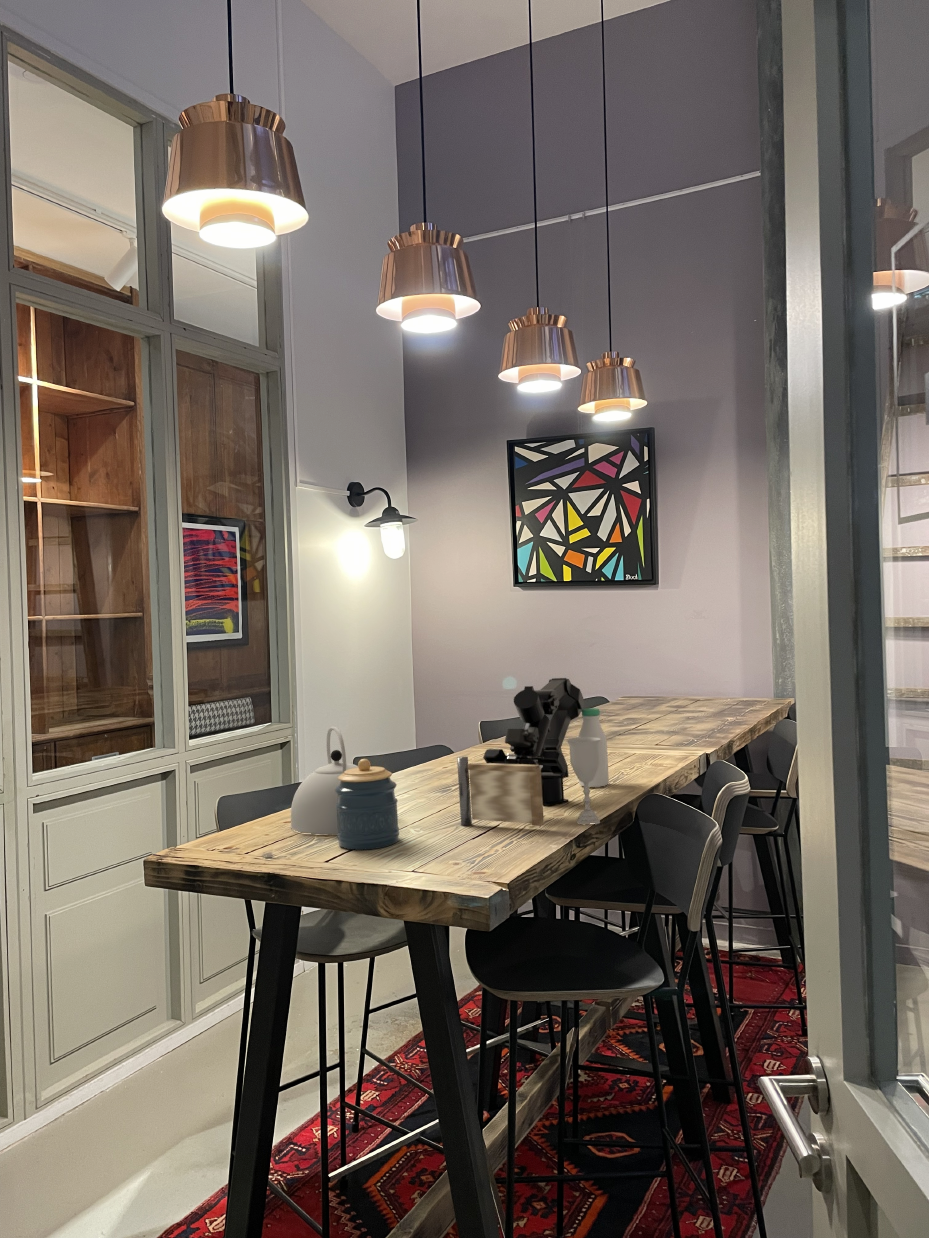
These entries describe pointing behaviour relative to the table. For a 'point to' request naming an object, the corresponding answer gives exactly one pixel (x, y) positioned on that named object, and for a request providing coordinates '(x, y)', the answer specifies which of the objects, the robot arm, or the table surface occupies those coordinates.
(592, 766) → the chalice
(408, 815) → the table surface
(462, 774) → the hinge post
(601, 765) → the milk bottle
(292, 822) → the kettle
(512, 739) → the robot arm
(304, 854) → the table surface
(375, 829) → the canister
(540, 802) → the gate
